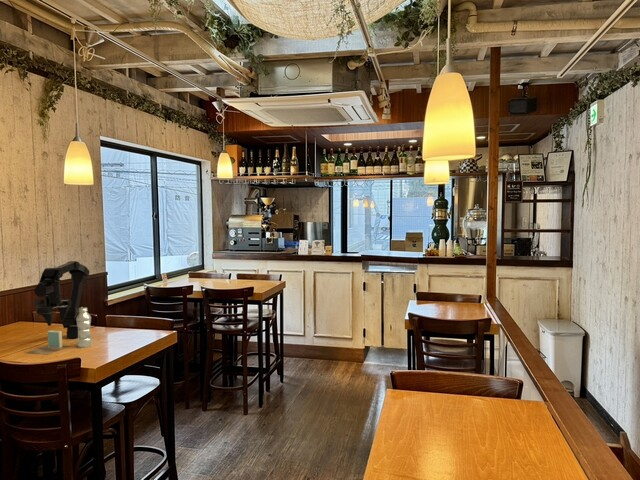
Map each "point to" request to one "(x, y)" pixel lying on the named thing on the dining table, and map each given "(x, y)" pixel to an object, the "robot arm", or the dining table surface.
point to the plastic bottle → (84, 328)
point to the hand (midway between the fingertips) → (55, 323)
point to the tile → (55, 339)
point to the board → (46, 350)
